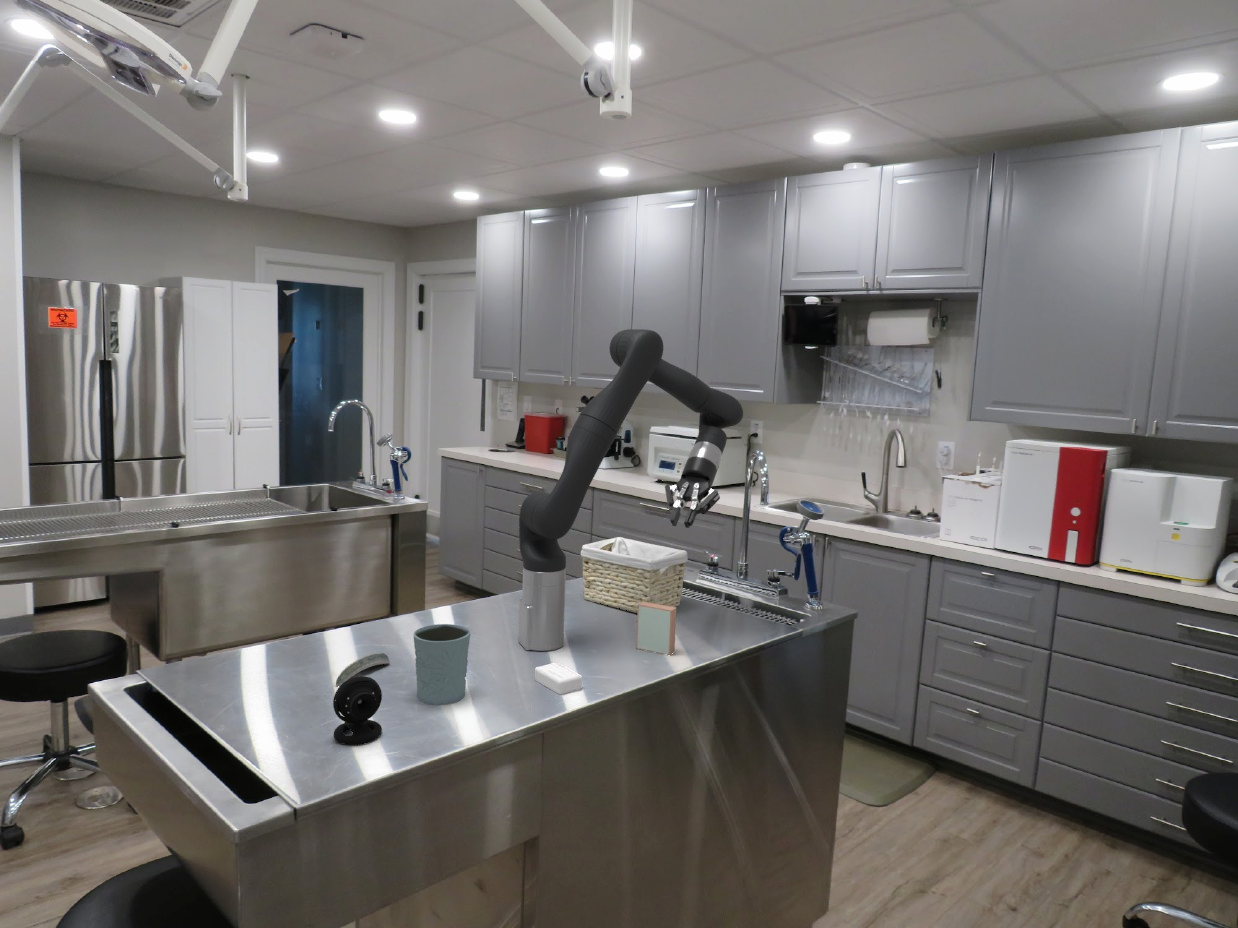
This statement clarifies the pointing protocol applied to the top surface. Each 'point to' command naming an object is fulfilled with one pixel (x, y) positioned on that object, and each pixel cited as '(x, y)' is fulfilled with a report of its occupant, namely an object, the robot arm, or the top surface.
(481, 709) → the top surface
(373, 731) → the webcam
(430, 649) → the green ceramic cup
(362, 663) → the ceramic fragment
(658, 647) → the terracotta tile
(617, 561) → the storage basket
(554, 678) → the soap
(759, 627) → the top surface
